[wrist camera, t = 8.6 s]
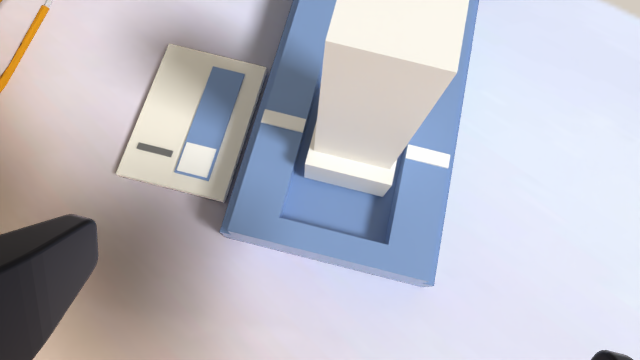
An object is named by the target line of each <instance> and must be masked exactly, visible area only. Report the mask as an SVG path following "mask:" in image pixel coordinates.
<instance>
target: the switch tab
mask: <svg viewBox="0 0 640 360" xmlns="http://www.w3.org/2000/svg"><path fill="white" fill-rule="evenodd" d="M468 5H469V0H337V1H336V4H335V8H334V12H333V15H332V19H331V22H330V26H329V29H328V33H327V36H326V40H325V49H324V58H323V68H322V77H321V87H320V97H319V106H318V116H317V121H316V125H315V128H314V132H313V136H312V140H311V143H310V147H309V151H308V154H307V158H306V162H305V173H304V177H305V178H309V179H313V180H317V181H321V182H325V183H329V184H333V185H337V186H341V187H345V188H349V189H353V190H357V191H361V192H365V193H369V194H373V195H377V196H381V197H383V196H384V195H385V193H386V192H387V191H388V190H389V188H390V187H391V186H392V182H393V177H394V172H395V167H396V163H397V158H398V157H399V156H400V154H401V153H402V151H403V150H404V148H405V147H406V146H407V144H408V143H409V141H410V140H411V138H412V137H413V135H414V134H415V133H416V131H417V130H418V128H419V127H420V125H421V124H422V123H423V121H424V120H425V118H426V117H427V115H428V114H429V113H430V111H431V110H432V108H433V107H434V105H435V104H436V102H437V101H438V100H439V98H440V97H441V95H442V94H443V92H444V91H445V90H446V88H447V87H448V85H449V84H450V82H451V81H452V79H453V78H454V77H455V75H456V74H457V71H458V65H459V59H460V53H461V47H462V41H463V35H464V29H465V23H466V17H467V11H468Z"/></svg>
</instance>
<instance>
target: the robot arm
mask: <svg viewBox="0 0 640 360" xmlns="http://www.w3.org/2000/svg"><path fill="white" fill-rule="evenodd" d="M97 260H98V242H97V227H96V223H95V221H94V220H92V219H90V218H86V217H82V216H78V215H74V214H68V215H64V216H61V217H58V218H55V219H51V220H48V221H45V222H41V223H38V224H35V225H31V226H28V227H25V228H21V229H18V230H15V231H11V232H8V233H5V234H1V235H0V360H33V358H34V357H35V356H36V354H37V353H38V352H39V351H40V349H41V348H42V347H43V345H44V344H45V343H46V341H47V340H48V338H49V337H50V335H51V334H52V333H53V331H54V330H55V328H56V326H57V325H58V323H59V322H60V320H61V319H62V317H63V316H64V314H65V313H66V311H67V310H68V308H69V307H70V305H71V304H72V302H73V301H74V299H75V297H76V296H77V294H78V293H79V291H80V290H81V288H82V287H83V285H84V284H85V282H86V281H87V279H88V278H89V276H90V275H91V273H92V272H93V270H94V268H95V266H96V264H97ZM591 360H633V359H632V358H630V357H628V356H626V355H624V354H620V353H616V352H612V351H608V350H601V351H599V352H597V353H596V354H595V355H594V356H593V358H592V359H591Z"/></svg>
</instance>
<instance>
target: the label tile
mask: <svg viewBox="0 0 640 360" xmlns="http://www.w3.org/2000/svg"><path fill="white" fill-rule="evenodd" d="M266 73H267V67H264V66H259V65H255V64H251V63H247V62H243V61H239V60H235V59H231V58H227V57H223V56H219V55H214V54H210V53H206V52H202V51H198V50H194V49H190V48H186V47H182V46H178V45H174V44H169V45H168V47H167V50H166V52H165V55H164V57H163V59H162V62H161V64H160V67H159V69H158V72H157V74H156V77H155V79H154V81H153V84H152V86H151V89H150V91H149V94H148V96H147V99H146V101H145V103H144V106H143V108H142V111H141V113H140V116H139V118H138V120H137V123H136V125H135V128H134V130H133V133H132V135H131V138H130V140H129V142H128V145H127V147H126V150H125V152H124V155H123V157H122V160H121V162H120V164H119V167H118V169H117V172H116V174H117V175H118V176H121V177H125V178H128V179H132V180H136V181H140V182H144V183H148V184H152V185H156V186H160V187H164V188H168V189H172V190H176V191H180V192H184V193H188V194H192V195H196V196H200V197H204V198H208V199H212V200H216V201H220V202H224V203H225V201H226V198H227V195H228V192H229V189H230V185H231V182H232V179H233V176H234V173H235V170H236V167H237V164H238V160H239V157H240V154H241V151H242V148H243V145H244V142H245V139H246V136H247V132H248V129H249V126H250V123H251V120H252V117H253V114H254V111H255V108H256V104H257V101H258V98H259V95H260V92H261V89H262V86H263V83H264V79H265V76H266Z"/></svg>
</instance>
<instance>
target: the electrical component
mask: <svg viewBox="0 0 640 360" xmlns="http://www.w3.org/2000/svg"><path fill="white" fill-rule="evenodd" d="M1 1H2V0H0V3H1ZM52 1H53V0H47V1H46V3H45V4H44V5H42V6H41V8H40V10H39V12H38V13H37V15H36V17H35V19H34V21H33V22H32V24H31V26H30V28H29V30H28V32H27V33H26V35H25V37H24V39H23V41H22V42H21V44H20V46H19V48H18V50H17V51H16V53H15V55H14V57H13V59H12V60H11V62H10V64H9V66H8V67H7V69H6V70H5V71H4V73H3V74H2V75H1V77H0V92H1V91H2V90H3V89H4V87H5V86H6V84H7V83H8V81H9V79H10V77H11V76H12V74H13V72H14V71H15V69H16V67H17V65H18V63H19V62H20V60H21V58H22V56H23V55H24V53H25V51H26V49H27V48H28V46H29V44H30V42H31V40H32V39H33V37H34V35H35V33H36V32H37V30H38V28H39V26H40V25H41V23H42V21H43V19H44V18H45V16H46V14H47V12H48V10H49V7H50V5H51V3H52ZM43 7H44V8H43ZM40 12H41V13H40ZM30 29H31V30H30Z"/></svg>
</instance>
